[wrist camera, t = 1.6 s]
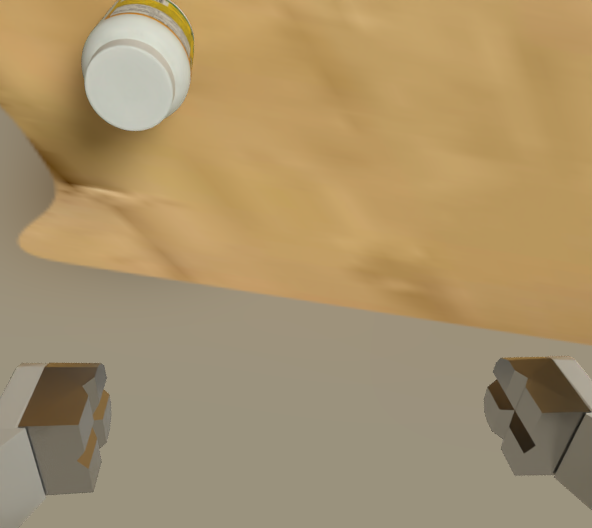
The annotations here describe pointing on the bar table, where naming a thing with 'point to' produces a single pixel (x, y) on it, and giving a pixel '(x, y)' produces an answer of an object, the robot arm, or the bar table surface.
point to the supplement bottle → (138, 63)
